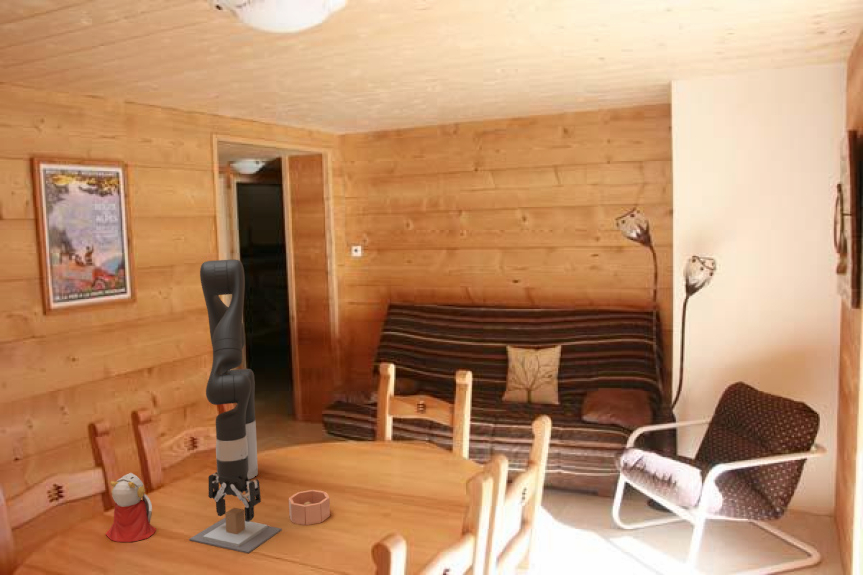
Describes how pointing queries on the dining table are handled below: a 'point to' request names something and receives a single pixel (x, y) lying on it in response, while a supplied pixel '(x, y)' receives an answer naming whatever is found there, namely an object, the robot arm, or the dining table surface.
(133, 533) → the figurine
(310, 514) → the bowl
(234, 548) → the mat
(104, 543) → the dining table surface
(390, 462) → the dining table surface
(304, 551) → the dining table surface
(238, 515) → the lid
